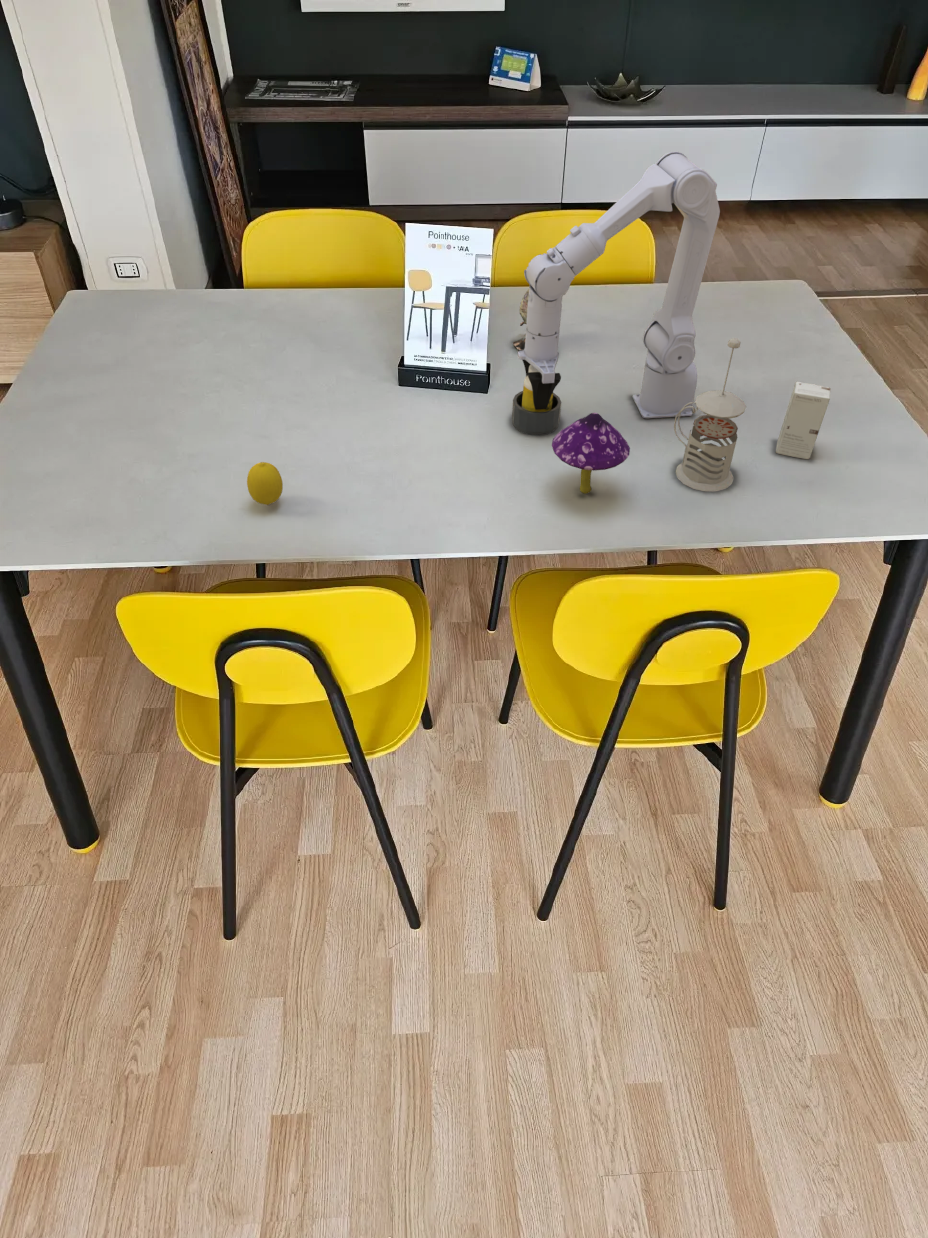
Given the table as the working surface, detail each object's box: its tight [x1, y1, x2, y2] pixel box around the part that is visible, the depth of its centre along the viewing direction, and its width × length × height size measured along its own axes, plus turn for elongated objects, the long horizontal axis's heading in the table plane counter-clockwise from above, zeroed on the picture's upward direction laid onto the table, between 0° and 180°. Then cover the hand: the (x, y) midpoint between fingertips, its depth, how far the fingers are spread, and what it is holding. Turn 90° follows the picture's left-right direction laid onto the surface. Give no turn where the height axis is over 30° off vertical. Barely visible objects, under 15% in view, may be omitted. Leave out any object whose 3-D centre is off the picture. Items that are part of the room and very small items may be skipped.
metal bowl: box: [511, 390, 562, 436], centre depth 171 cm, size 9×9×4 cm
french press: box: [673, 337, 747, 492], centre depth 153 cm, size 10×12×25 cm
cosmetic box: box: [775, 381, 832, 460], centre depth 164 cm, size 6×4×12 cm
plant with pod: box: [512, 288, 529, 351], centre depth 188 cm, size 8×11×20 cm
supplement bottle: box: [522, 365, 554, 412], centre depth 169 cm, size 5×5×10 cm
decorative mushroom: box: [551, 412, 631, 495], centre depth 152 cm, size 12×12×15 cm
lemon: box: [246, 461, 284, 506], centre depth 151 cm, size 6×6×8 cm
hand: (537, 399), depth 170 cm, fingers closed on supplement bottle, 5 cm apart
